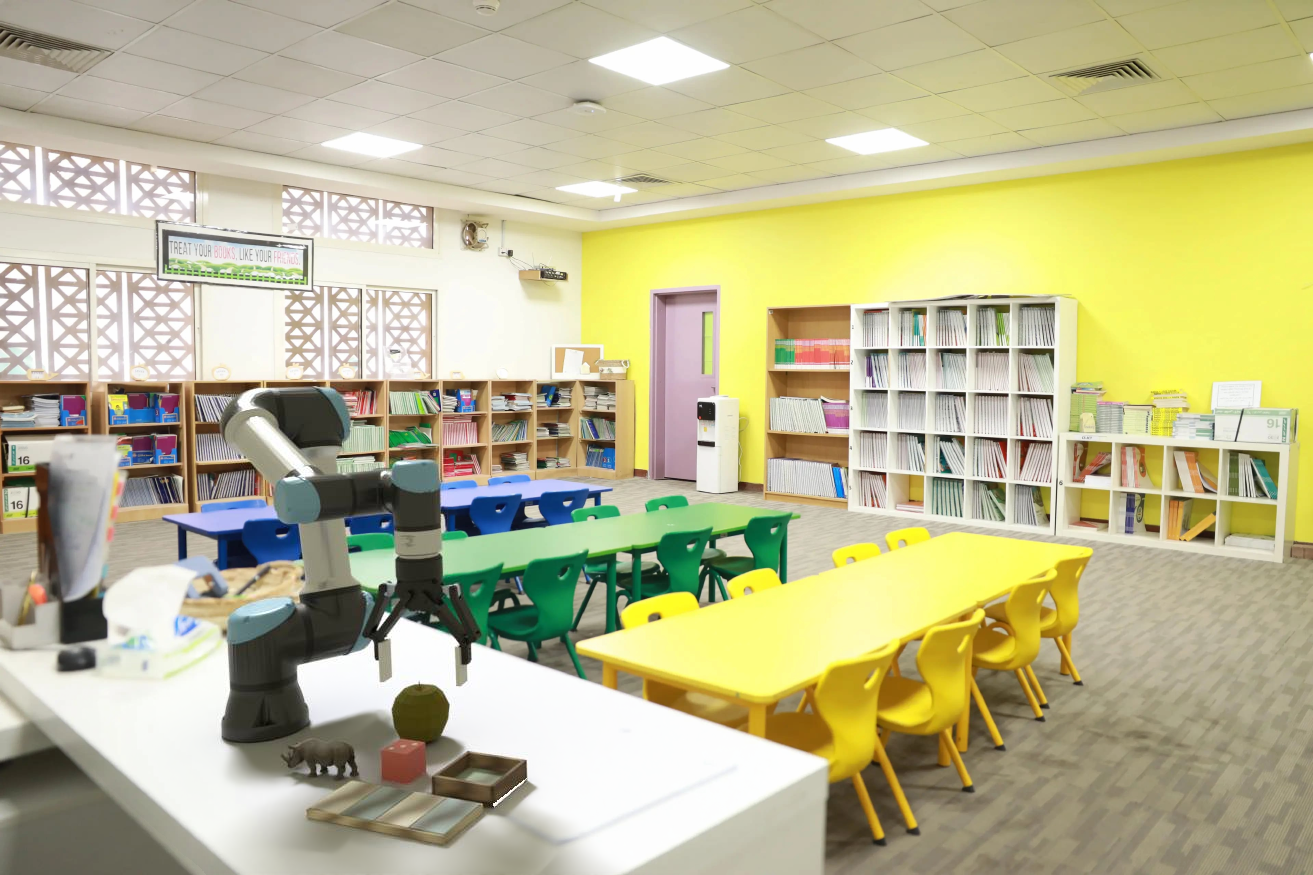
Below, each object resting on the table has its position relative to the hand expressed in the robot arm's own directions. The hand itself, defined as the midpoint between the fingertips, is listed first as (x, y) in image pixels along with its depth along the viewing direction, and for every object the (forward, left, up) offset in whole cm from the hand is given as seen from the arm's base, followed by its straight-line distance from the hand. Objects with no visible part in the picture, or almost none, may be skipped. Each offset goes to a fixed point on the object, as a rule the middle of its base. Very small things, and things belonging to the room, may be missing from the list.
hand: (423, 681), depth 146 cm
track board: (+5, -15, -15) cm, 22 cm away
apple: (-8, +9, -15) cm, 19 cm away
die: (-2, -4, -15) cm, 15 cm away
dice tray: (+13, -4, -15) cm, 20 cm away
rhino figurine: (-16, -8, -15) cm, 23 cm away
